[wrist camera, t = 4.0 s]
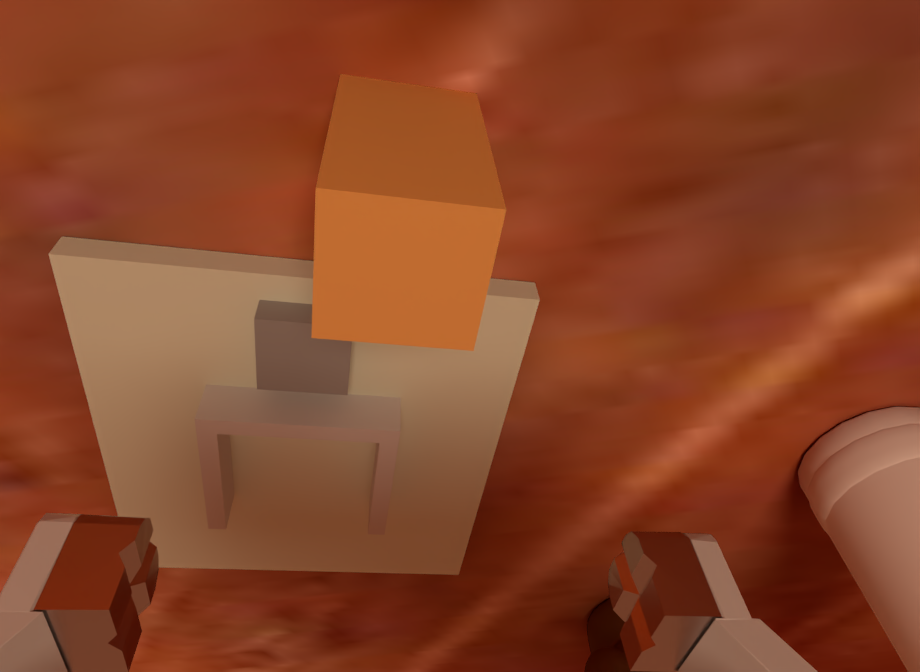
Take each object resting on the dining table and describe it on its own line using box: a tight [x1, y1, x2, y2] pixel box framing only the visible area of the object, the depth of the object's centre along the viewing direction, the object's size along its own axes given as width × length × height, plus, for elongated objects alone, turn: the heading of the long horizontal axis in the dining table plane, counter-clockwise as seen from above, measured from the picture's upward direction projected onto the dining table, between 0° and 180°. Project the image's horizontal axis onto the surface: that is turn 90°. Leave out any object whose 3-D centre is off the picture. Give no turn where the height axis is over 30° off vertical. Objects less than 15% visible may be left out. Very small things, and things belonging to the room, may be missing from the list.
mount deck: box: [49, 237, 540, 575], centre depth 31 cm, size 20×18×3 cm
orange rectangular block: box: [311, 74, 506, 351], centre depth 20 cm, size 4×4×8 cm
